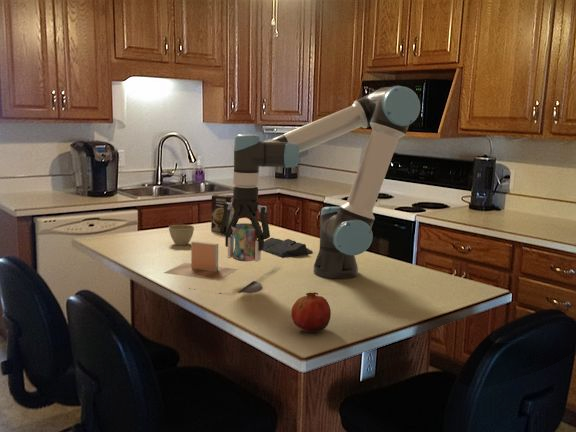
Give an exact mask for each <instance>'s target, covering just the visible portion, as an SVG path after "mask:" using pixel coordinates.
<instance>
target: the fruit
mask: <svg viewBox="0 0 576 432" xmlns="http://www.w3.org/2000/svg"><path fill="white" fill-rule="evenodd" d="M290 313H291V319H292V322H293V324H294V325H295V326H296V327H297V328H299V329H300V330H302V331H304V332H306V333H317V332H321V331H323V330H325V329H326V328H327V327H328V325H329V324H330V321H331V314H332V312H331V308H330V304H329V302H328V301H327V299H326V298H325V297H323V296H320V295H319V293H318V292H306V293H305V295H304V296H301V297H299V298H298V299H297V300H296V301H295V302H294V304H293V305H292V307H291V312H290Z"/></svg>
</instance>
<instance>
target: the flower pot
mask: <svg viewBox="0 0 576 432" xmlns="http://www.w3.org/2000/svg"><path fill="white" fill-rule="evenodd" d="M194 230H195V226H194V225H191V224H173V225H169V226H168V231H169V235H170V238H171V240H172V242H173V243H174V245H176V246H187V245H189V243H190V241H191V240H192V238H193V235H194Z"/></svg>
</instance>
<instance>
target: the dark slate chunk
mask: <svg viewBox="0 0 576 432" xmlns="http://www.w3.org/2000/svg"><path fill="white" fill-rule="evenodd" d="M261 252H265V253H268V254H271V255H273V256H276V257H278V258H283V259H284V258H286V259H289V258H296V257H302V256H303V257H304V256H307V255H310V254H313V250H311V249H310V248H308V247H307V245H306V243H301V242H297V241H296V240H292V239H290V238H287V239H284V240H282V239H280V238H274V237H269V238H268V239H265V240H264V249H263V250H262V251H261Z"/></svg>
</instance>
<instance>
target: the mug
mask: <svg viewBox="0 0 576 432" xmlns="http://www.w3.org/2000/svg"><path fill="white" fill-rule="evenodd" d="M260 227H261V228H262V225H260ZM231 228H232V230H233V233H232V234H233V236H234V253H233V255H232V257H231V258H232V259H233V260H235V261H239V262H255V241H256V240H258V238H257V235H256V233H255V229H254V228H253V225H252V223H249V222H246V223H245V222H244V223H243V222H241V223H237V224H236V226H235V228H234V227H232V226H231Z"/></svg>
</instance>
